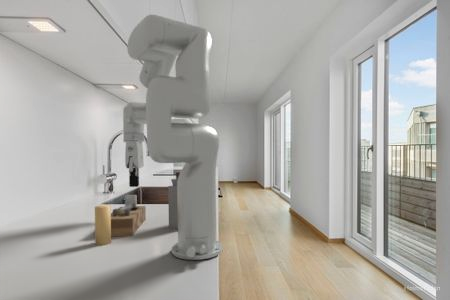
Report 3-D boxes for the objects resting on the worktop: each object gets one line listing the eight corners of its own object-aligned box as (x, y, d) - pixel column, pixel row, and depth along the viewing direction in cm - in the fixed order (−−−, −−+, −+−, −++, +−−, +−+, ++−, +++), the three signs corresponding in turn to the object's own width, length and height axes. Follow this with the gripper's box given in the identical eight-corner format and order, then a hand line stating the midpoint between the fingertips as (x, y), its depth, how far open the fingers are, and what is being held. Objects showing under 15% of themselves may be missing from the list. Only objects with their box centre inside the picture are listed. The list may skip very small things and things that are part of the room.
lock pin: (128, 214, 90) (128, 200, 90) (116, 214, 89) (116, 200, 89) (136, 206, 102) (136, 194, 102) (126, 207, 101) (126, 195, 101)
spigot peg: (108, 244, 75) (107, 207, 75) (92, 245, 75) (92, 208, 75) (112, 240, 79) (112, 205, 79) (98, 240, 79) (97, 205, 79)
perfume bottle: (197, 224, 95) (196, 171, 95) (184, 229, 89) (183, 173, 89) (182, 222, 99) (181, 171, 99) (168, 226, 93) (168, 172, 93)
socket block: (132, 235, 84) (132, 212, 84) (101, 236, 83) (101, 213, 83) (145, 219, 104) (145, 200, 104) (120, 220, 103) (120, 201, 103)
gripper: (139, 137, 100) (140, 189, 100) (147, 139, 114) (147, 183, 115) (118, 137, 99) (118, 189, 99) (128, 139, 114) (129, 184, 114)
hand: (134, 186), depth 107 cm, fingers closed
